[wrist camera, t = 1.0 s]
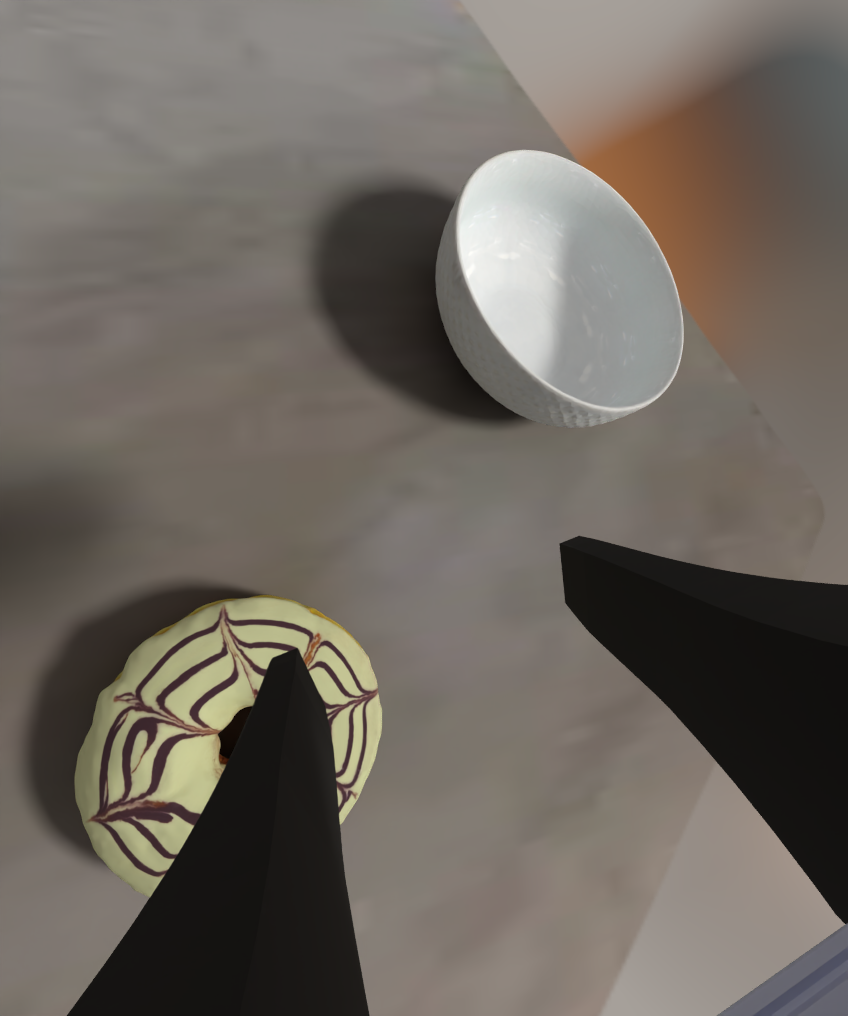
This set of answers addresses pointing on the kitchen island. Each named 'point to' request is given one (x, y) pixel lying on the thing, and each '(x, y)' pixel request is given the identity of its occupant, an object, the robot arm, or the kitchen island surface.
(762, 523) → the kitchen island surface
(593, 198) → the cereal bowl
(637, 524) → the kitchen island surface
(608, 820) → the kitchen island surface
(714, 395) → the kitchen island surface
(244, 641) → the decorated donut
